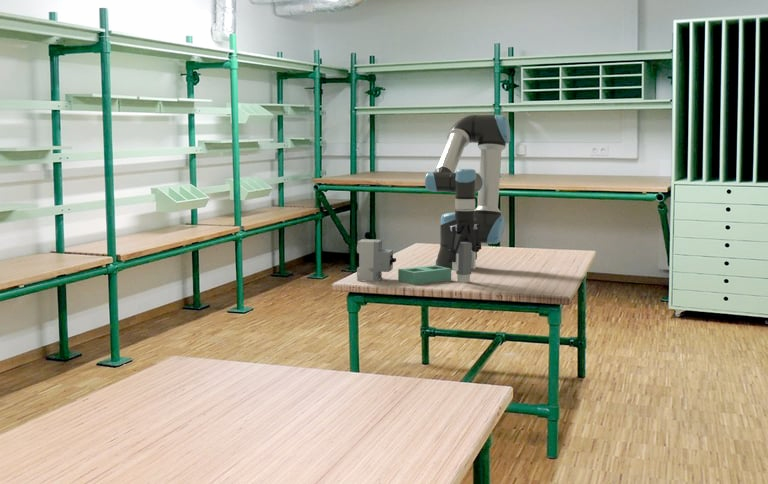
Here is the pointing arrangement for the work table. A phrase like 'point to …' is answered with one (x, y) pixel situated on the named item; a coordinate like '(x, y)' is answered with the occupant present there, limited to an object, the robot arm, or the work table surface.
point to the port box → (424, 274)
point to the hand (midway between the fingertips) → (463, 269)
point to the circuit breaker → (373, 260)
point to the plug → (464, 262)
